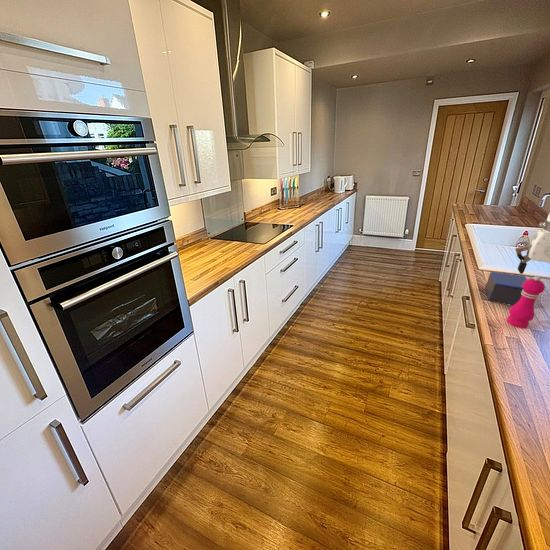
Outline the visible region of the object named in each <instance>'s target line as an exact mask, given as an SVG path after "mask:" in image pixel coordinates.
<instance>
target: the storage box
mask: <svg viewBox="0 0 550 550" xmlns="http://www.w3.org/2000/svg"><path fill="white" fill-rule="evenodd" d="M484 290H485V293H486V296H487V300H488V302H492V301H493V302H492V303H497V302H499V303H498V304H502V303H505V304H504V305H507V304H510V305H509V306H512V305H514V304H516V303H517V302H518V301H519V300H520V298H521V296H522V294H521V292H522V290H524V289H518V288H512V287H505V286H499V285H495V284H494V281H493V278H492V276H491V272H490V273H489V275H488V278H487V281H486V284H485V286H484Z"/></svg>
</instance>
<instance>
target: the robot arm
mask: <svg viewBox="0 0 550 550" xmlns="http://www.w3.org/2000/svg"><path fill="white" fill-rule="evenodd" d="M538 227H541V228H540V229H539V230H538V231H537V233H536V234H535V236H534V237H533V239H532V240H531V242H530V243H529V244H528V245H524V246H520V247H516V248H514V249H515V250H514V251H515V254H516V256H517V258H518V259H519V260H520V262H519V264H518V265H517V271H518V273H519V275H522V274H524V272H525V270H526V268H527V265H528V262H529V261H531V260H533V261H536V262H542V263H549V264H550V212H549V213H548V215H547V218H546V219H545V221H544V222H543V221H542V222H541V221H540V222H539V223H538ZM523 252H526V254H525V255H522V253H523Z"/></svg>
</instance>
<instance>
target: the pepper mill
mask: <svg viewBox="0 0 550 550" xmlns="http://www.w3.org/2000/svg"><path fill="white" fill-rule="evenodd" d="M522 287H523V289H524V290H522V292H521V294H522V296H521V298H520V300H519V301H518V302H517V303H516V304H514V305H513V306H512V305H511V307H510V309H509V311H508V313H509V315H508V317H507V320H506V321H507V323H508V324H510V325H511V326H513V327H516V328H520V329H526V328H528V327H529V325H530V322H532V321H533V320H534V318H535V308H534V306H535V302H536V300H537V299H539V297H540V295H541V294H542V293H543V292H544V291H545V289H546V285H545V284H544V282H543V281H541V276H539V275H535V276H534V277H533V278H529V279H527V280H526V281H525V282H524V283H523V285H522Z"/></svg>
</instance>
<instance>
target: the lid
mask: <svg viewBox="0 0 550 550" xmlns="http://www.w3.org/2000/svg"><path fill="white" fill-rule="evenodd" d="M490 273H491V276H492V278H493V281H494V284H495V285H499V286H505V287H512V288H518V289H523V287H522V285H523V283H524V282H525V281H526V280H528V279H527V277H526V276H525V275H520V274H519V275H518V274H513V273H512V274H511V273H504V272H497V271H490Z"/></svg>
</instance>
